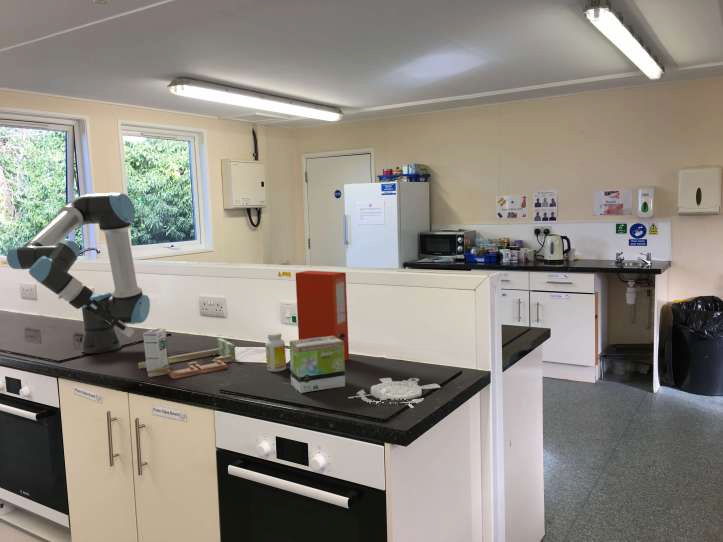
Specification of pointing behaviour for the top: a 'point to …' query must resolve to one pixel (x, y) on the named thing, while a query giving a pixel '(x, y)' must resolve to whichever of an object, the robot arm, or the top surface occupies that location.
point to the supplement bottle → (275, 352)
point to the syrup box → (156, 349)
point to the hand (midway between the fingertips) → (127, 331)
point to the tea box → (317, 363)
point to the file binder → (322, 306)
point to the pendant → (396, 390)
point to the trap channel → (193, 368)
